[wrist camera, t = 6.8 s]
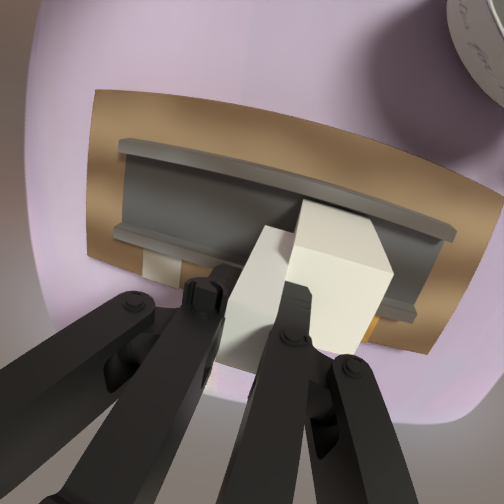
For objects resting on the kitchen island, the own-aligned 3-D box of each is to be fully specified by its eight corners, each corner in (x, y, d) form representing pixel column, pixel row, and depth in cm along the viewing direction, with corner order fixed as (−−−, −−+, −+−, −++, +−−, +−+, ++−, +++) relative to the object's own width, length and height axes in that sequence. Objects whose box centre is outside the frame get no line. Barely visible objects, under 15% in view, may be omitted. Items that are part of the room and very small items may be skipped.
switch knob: (303, 198, 17) (294, 244, 11) (369, 218, 17) (393, 273, 11) (284, 265, 19) (266, 334, 13) (345, 282, 19) (352, 356, 13)
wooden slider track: (111, 89, 19) (84, 89, 16) (492, 190, 17) (515, 203, 14) (101, 245, 25) (78, 261, 22) (421, 338, 22) (430, 365, 19)
